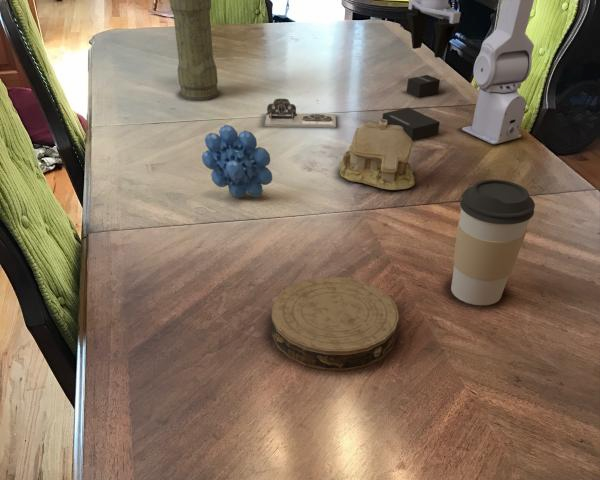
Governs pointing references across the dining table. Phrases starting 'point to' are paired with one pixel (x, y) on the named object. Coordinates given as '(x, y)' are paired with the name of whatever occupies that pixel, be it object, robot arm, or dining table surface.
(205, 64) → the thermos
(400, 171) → the ceramic model
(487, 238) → the coffee cup
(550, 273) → the dining table surface
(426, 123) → the base pad
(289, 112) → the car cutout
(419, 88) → the black rectangular block
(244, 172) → the blue knobbed flower
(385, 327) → the wood slice
